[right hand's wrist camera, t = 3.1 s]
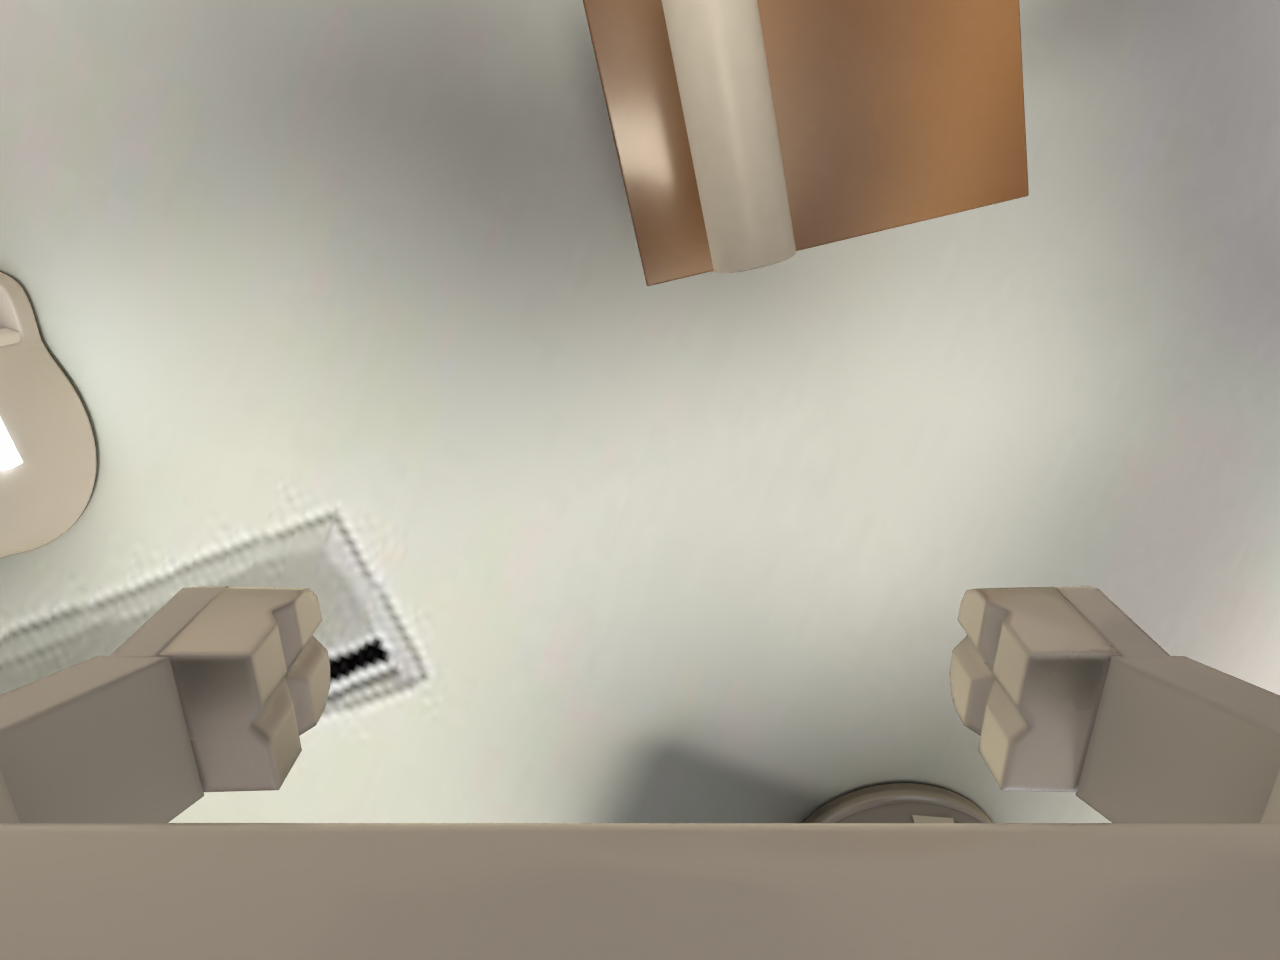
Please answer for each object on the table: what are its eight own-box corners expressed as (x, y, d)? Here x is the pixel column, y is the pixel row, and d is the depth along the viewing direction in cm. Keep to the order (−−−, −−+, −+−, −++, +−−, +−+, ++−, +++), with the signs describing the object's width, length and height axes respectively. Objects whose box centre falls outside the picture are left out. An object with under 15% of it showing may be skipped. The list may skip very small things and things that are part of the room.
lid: (646, 281, 29) (652, 333, 21) (582, -6, 26) (557, -87, 17) (1013, 194, 28) (1180, 210, 20) (995, -117, 25) (1187, -260, 16)
